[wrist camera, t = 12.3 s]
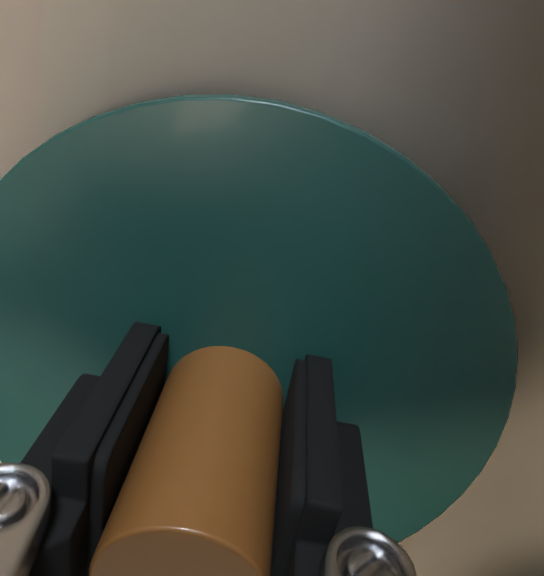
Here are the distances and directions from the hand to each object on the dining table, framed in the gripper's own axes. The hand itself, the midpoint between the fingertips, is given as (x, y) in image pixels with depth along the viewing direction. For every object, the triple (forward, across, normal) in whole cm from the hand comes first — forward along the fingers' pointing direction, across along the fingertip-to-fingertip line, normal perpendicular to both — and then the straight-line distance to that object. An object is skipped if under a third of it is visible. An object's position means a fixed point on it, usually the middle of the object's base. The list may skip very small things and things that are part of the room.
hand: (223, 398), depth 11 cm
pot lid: (+1, 0, 0) cm, 1 cm away
